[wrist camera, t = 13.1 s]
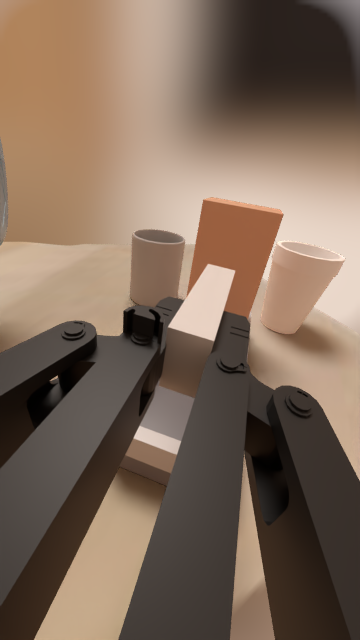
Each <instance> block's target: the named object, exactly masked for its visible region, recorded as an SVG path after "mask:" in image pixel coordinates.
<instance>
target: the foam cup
mask: <svg viewBox="0 0 360 640" xmlns="http://www.w3.org/2000/svg"><path fill="white" fill-rule="evenodd" d="M344 261H345V258H344V257H343V256H342V255H341V254H338V253H336V252H334V251H331V250H328V249H325V248H322V247H319V246H315V245H310V244H306V243H300V242H294V241H279V242H277V244H276V246H275V249H274V252H273V255H272V265H271V270H270V274H269V279H268V284H267V289H266V294H265V298H264V303H263V308H262V313H261V322H262V323H263V324H264V326H266V327H267V328H269V329H271V330H273V331H275V332H278V333H282V334H293V333H295V332H296V331H297V330H298V328H299V327H300V326H301V324H302V323H303V321H304V320H305V318H306V317H307V315H308V314H309V313H310V311H311V310H312V308H313V307H314V305H315V304H316V302H317V301H318V299H319V298H320V296H321V295H322V293H323V292H324V291H325V289H326V288H327V286H328V285H329V283H330V282H331V280H332V279H333V277H335V276H336V275H337V274H338V272H339V270H340V268H341V266H342V264H343V262H344Z"/></svg>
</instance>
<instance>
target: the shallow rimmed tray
mask: <svg viewBox="0 0 360 640" xmlns="http://www.w3.org/2000/svg"><path fill="white" fill-rule="evenodd" d="M248 321H249V323H250V322H251V311H250V314H249V317H248ZM249 334H250V332H249ZM248 345H249V344H248ZM247 357H248V355H247ZM159 383H160V379H159V381H158V383H157V385H156V387H155V394H154V398H153V400H152V402H151V404H150V406H149V408H148V410H147V412H146V414H145V416H144V418H143V420H142V422H141V424H140V426H139V428H138V430H137V432H136V434H135V436H134V438H133V440H132V442H131V444H130V446H129V448H128V450H127V452H126V454H125V456H124V458H123V460H122V462H121V464H120V466H119V467H121V468H124V469H126V470H129V471H131V472H134V473H136V474H138V475H141V476H143V477H146V478H148V479H151V480H153V481H155V482H158V483H160V484H163V485H165V486H167V485H168V481H169V478H170V475H171V472H172V469H173V466H174V462H175V459H176V456H177V453H178V450H179V447H180V443H181V440H182V437H183V434H184V431H185V428H186V424H187V421H188V418H189V415H190V412H191V409H192V405H193V402H194V399H195V398H193V397H190V396H187V395H184V394H181V393H178V392H175V391H173V390H170V389H167V388H164V387H161V386H159Z"/></svg>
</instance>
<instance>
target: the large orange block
mask: <svg viewBox="0 0 360 640" xmlns="http://www.w3.org/2000/svg"><path fill="white" fill-rule="evenodd" d="M282 218H283V213H282V211H281V210H279V209H274V208H269V207H263V206H257V205H252V204H246V203H240V202H236V201H230V200H225V199H219V198H213V197H211V198H207V199H204V200H203V204H202V211H201V216H200V222H199V228H198V233H197V239H196V245H195V251H194V257H193V262H192V268H191V274H190V280H189V286H188V291H187V296H188V294H189V293H190V291H191V290H192V288H193V287H194V285H195V283H196V282H197V280H198V279H199V277H200V276H201V274H202V273H203V271H204V269H205V268H206V266H207V265H208V264H211V265H215V266H219V267H223V268H227V269H231V270H235V274H234V277H233V281H232V284H231V288H230V291H229V295H228V298H227V301H226V305H225V308H224V311H227V312H230V313H234V314H237V315H241V316H245V317H246V318H247V319H248V317H249V314H250V311H251V308H252V305H253V302H254V299H255V296H256V294H257V291H258V288H259V285H260V282H261V279H262V276H263V273H264V270H265V267H266V264H267V261H268V258H269V256H270V253H271V250H272V247H273V244H274V241H275V238H276V235H277V232H278V229H279V226H280V223H281V220H282ZM186 298H187V297H186Z"/></svg>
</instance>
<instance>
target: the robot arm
mask: <svg viewBox="0 0 360 640" xmlns="http://www.w3.org/2000/svg"><path fill="white" fill-rule="evenodd" d="M7 224H8V194H7V181H6V171H5V162H4V156H3V149H2V144H1V139H0V245H1V244H2V243H3V241H4V239H5V236H6V232H7ZM234 274H235V270H231V269H227V268H223V267H219V266H215V265H211V264H208V265H207V266H206V268H205V269H204V271H203V273H202V274H201V276H200V277H199V279H198V280H197V282H196V283H195V285H194V287H193V288H192V290H191V291H190V293H189V294H188V296H187V298H186V299H185V301H184V300H180V299H177V298H173V297H170V296H169V297H166V298H164V299H162V300H160V301H159V303H158V304H157V305H156V307H154V308H153V307H150V306H144V305H141V306H133V307H129V308H127V309H126V310H124V317H123V333H122V334H121V335H120V336H103V335H97V333H96V329H95V327H94V326H93V325H92V324H90V323H88V322H85V321H69V322H65V323H62V324H59V325H57V326H55V327H53V328H51V329H49V330H47V331H45V332H43V333H41V334H39V335H37V336H35V337H33V338H31V339H28V340H26V341H24V342H22V343H20V344H18V345H16V346H14V347H12V348H10V349H8V350H6V351H4V352H2V353H0V640H34V638H35V636H36V634H37V632H38V630H39V628H40V626H41V624H42V622H43V620H44V618H45V616H46V614H47V612H48V610H49V608H50V606H51V604H52V602H53V600H54V598H55V596H56V594H57V592H58V590H59V588H60V586H61V584H62V582H63V579H64V577H65V575H66V573H67V571H68V569H69V567H70V565H71V563H72V561H73V559H74V557H75V555H76V553H77V551H78V549H79V547H80V545H81V543H82V541H83V539H84V537H85V535H86V533H87V531H88V529H89V527H90V525H91V523H92V521H93V519H94V517H95V515H96V513H97V511H98V509H99V507H100V505H101V503H102V501H103V499H104V497H105V495H106V493H107V491H108V489H109V487H110V485H111V483H112V480H113V478H114V476H115V474H116V472H117V470H118V468H119V466H120V464H121V462H122V460H123V458H124V456H125V454H126V452H127V450H128V448H129V446H130V444H131V442H132V440H133V438H134V436H135V434H136V432H137V430H138V428H139V426H140V424H141V422H142V420H143V418H144V416H145V414H146V412H147V410H148V408H149V406H150V404H151V402H152V400H153V398H154V394H155V387H156V385H157V383H158V381H159V379H160V383H159V386H161V387H164V388H167V389H170V390H173V391H175V392H178V393H181V394H184V395H187V396H190V397H193V398H195V399H194V402H193V405H192V409H191V412H190V415H189V418H188V421H187V424H186V428H185V431H184V434H183V437H182V440H181V443H180V447H179V450H178V453H177V456H176V459H175V462H174V466H173V469H172V472H171V475H170V478H169V481H168V485H167V488H166V491H165V494H164V497H163V500H162V504H161V507H160V510H159V513H158V516H157V519H156V523H155V526H154V529H153V532H152V535H151V538H150V542H149V545H148V548H147V551H146V554H145V557H144V561H143V564H142V567H141V570H140V573H139V576H138V580H137V583H136V586H135V589H134V592H133V595H132V598H131V602H130V605H129V608H128V611H127V614H126V617H125V621H124V624H123V627H122V630H121V633H120V636H119V640H230V629H231V616H232V603H233V589H234V576H235V563H236V550H237V537H238V524H239V511H240V497H241V484H242V471H243V458H244V454H245V460H246V466H247V472H248V478H249V484H250V490H251V496H252V502H253V508H254V515H255V521H256V527H257V533H258V539H259V545H260V551H261V557H262V563H263V569H264V575H265V581H266V587H267V593H268V599H269V605H270V611H271V617H272V623H273V630H274V636H275V640H360V481H359V479H358V477H357V475H356V473H355V471H354V469H353V467H352V465H351V463H350V461H349V460H348V458H347V456H346V454H345V452H344V450H343V448H342V446H341V444H340V442H339V440H338V438H337V436H336V434H335V432H334V430H333V428H332V426H331V425H330V423H329V421H328V419H327V417H326V415H325V413H324V411H323V409H322V407H321V406H320V405H319V403H318V402H317V400H315V399H314V398H313V397H312V396H311V395H310V394H308V393H307V392H305V391H303V390H301V389H300V388H296V387H293V386H280V387H278V388H276V390H273V389H271V388H269V387H268V386H266V385H264V384H263V383H261V382H260V381H258V380H257V379H256V378H255V377H254V376H253V375H252V374H251V372H250V369H249V365H248V364H247V355H248V344H249V332H250V323H249V321H248V319H247V318H246V317H245V316H241V315H237V314H234V313H230V312H227V311H224V308H225V305H226V301H227V298H228V295H229V291H230V288H231V284H232V281H233V277H234ZM57 375H58V378H57V379H55V380H52V381H50V380H51V379H53V378H54V377H56V376H57Z"/></svg>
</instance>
